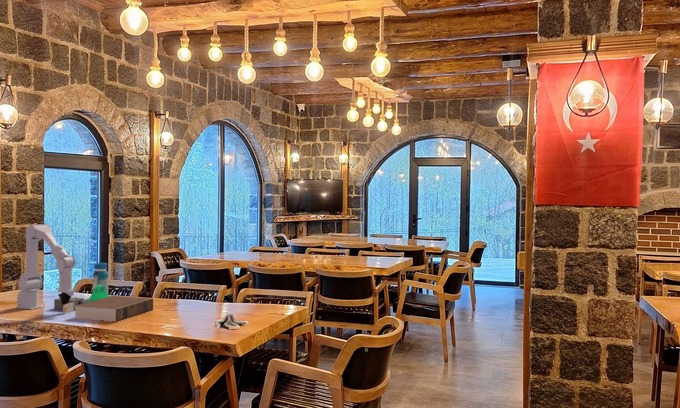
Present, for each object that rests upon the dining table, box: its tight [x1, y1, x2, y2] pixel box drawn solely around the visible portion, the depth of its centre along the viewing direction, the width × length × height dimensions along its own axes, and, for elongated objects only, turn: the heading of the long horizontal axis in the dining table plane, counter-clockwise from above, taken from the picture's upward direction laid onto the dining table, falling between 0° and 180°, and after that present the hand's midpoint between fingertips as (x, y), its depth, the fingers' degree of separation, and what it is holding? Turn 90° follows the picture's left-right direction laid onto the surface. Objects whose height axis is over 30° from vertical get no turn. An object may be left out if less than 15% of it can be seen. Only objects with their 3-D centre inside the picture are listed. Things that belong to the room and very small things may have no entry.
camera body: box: [53, 296, 85, 311], centre depth 286 cm, size 13×7×6 cm, turn 77°
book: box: [74, 295, 154, 323], centre depth 274 cm, size 24×28×7 cm
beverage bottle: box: [92, 262, 110, 295], centre depth 315 cm, size 8×8×20 cm
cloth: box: [214, 312, 249, 329], centre depth 253 cm, size 22×19×6 cm
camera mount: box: [87, 285, 110, 302], centre depth 298 cm, size 12×8×10 cm, turn 146°
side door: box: [62, 302, 75, 315], centre depth 277 cm, size 8×1×4 cm, turn 171°
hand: (65, 307), depth 276 cm, fingers closed, pressing on side door
